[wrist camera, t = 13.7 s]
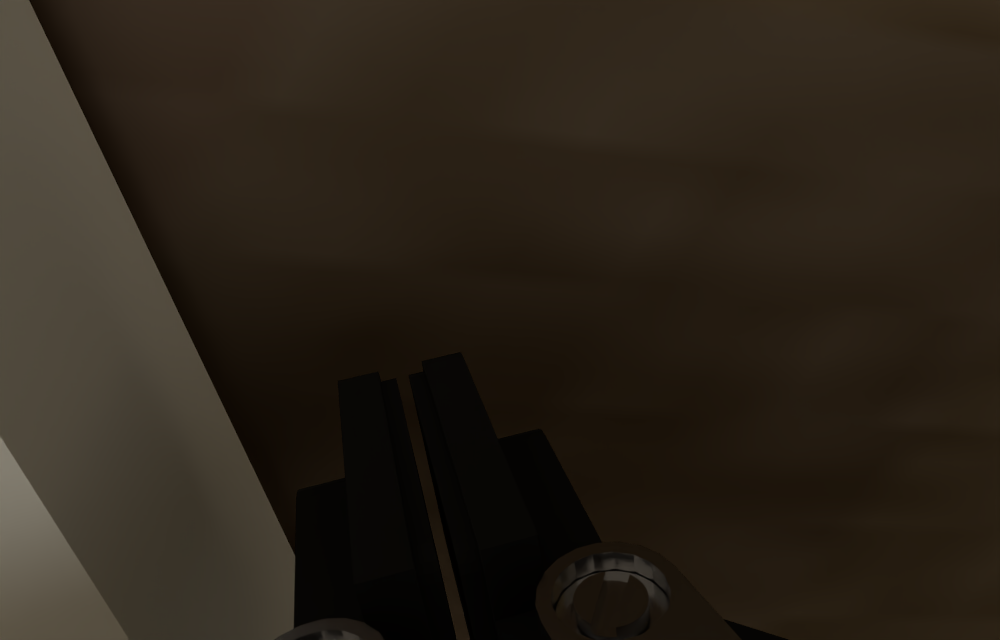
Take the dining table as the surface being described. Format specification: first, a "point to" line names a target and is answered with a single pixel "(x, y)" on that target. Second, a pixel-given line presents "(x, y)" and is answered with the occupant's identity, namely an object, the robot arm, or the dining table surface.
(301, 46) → the dining table surface
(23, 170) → the gate
